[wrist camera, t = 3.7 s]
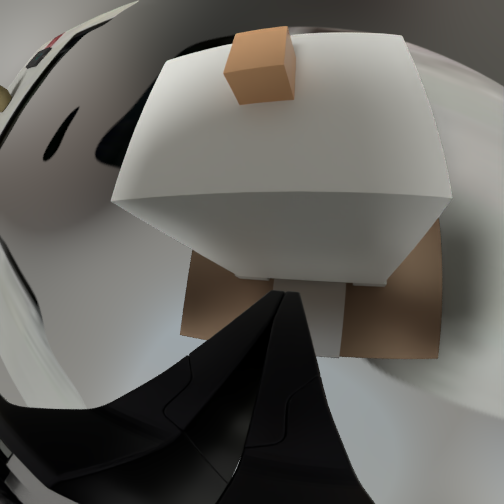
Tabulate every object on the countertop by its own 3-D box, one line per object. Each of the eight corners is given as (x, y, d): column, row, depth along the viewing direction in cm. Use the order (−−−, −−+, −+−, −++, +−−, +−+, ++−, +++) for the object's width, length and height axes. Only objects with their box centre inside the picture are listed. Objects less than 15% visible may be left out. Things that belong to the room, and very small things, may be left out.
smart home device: (33, 64, 56) (24, 67, 63) (36, 67, 57) (27, 69, 65) (50, 46, 56) (38, 51, 64) (53, 49, 58) (41, 53, 66)
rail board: (430, 356, 12) (462, 364, 8) (189, 335, 17) (146, 333, 13) (408, 94, 17) (413, 51, 13) (232, 100, 21) (211, 61, 17)
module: (384, 286, 13) (483, 169, 3) (239, 278, 15) (76, 184, 5) (383, 193, 14) (409, 7, 4) (251, 191, 16) (146, 42, 6)
